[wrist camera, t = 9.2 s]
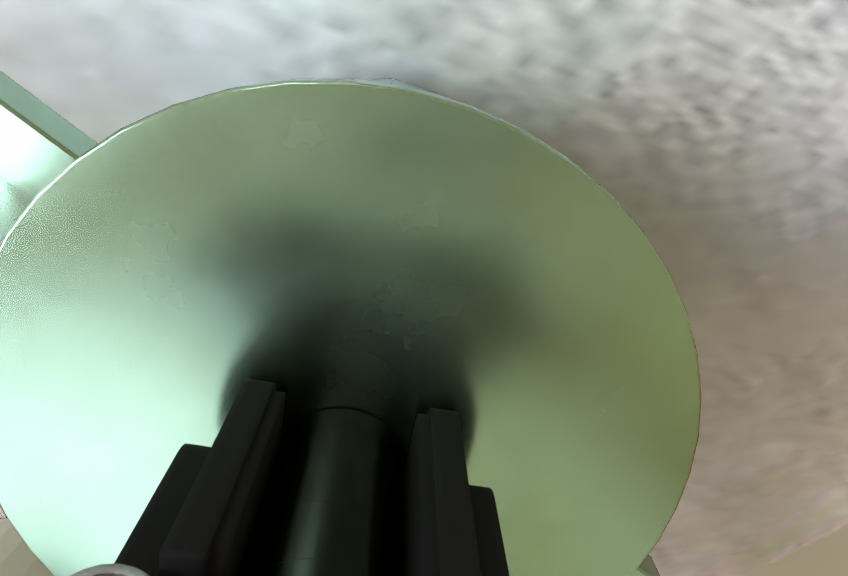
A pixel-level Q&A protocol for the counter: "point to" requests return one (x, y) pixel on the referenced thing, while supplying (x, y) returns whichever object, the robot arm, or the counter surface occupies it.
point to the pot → (67, 163)
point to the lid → (342, 331)
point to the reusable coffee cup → (17, 554)
